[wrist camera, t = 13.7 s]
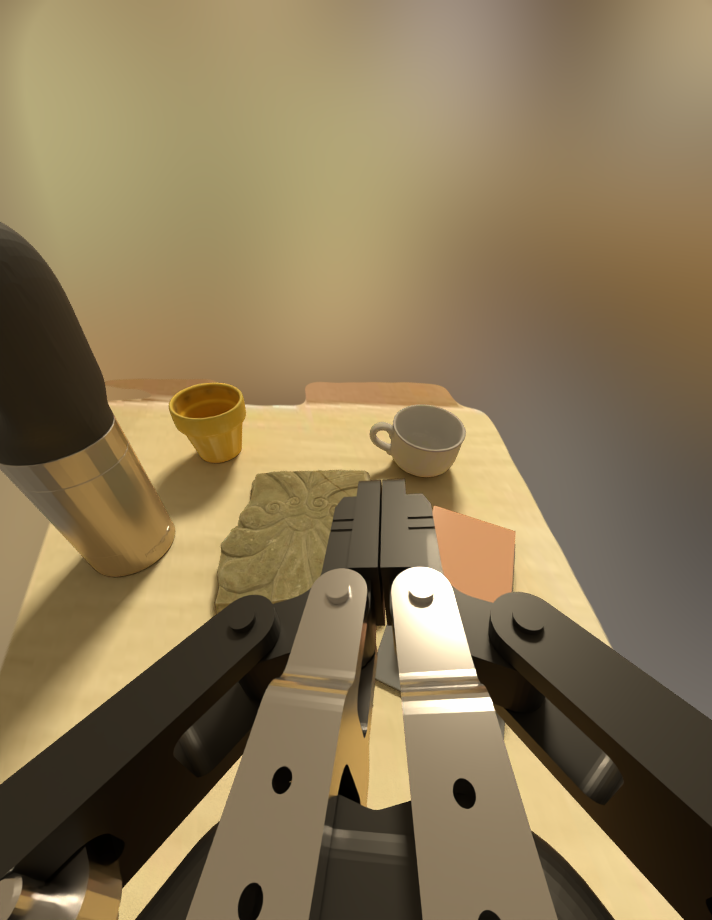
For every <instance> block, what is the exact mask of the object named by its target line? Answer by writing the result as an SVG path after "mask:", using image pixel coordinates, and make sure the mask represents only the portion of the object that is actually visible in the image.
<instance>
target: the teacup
mask: <svg viewBox="0 0 712 920" xmlns="http://www.w3.org/2000/svg"><path fill="white" fill-rule="evenodd" d="M381 430H384V431H387V432H388V433H389V437H390V439H391V444H388V443H385V442H383V441H381V440H380V439H379V438H378V437H377V436H376V433H377V432H378V431H381ZM465 435H466V431H465V427H464V425H463V423H462V422H461V421H460V419H459V418H458V417H457V416H455V415H454V414H452V413H451V412H449V411H447V410H445V409H443V408H440V407H436V406H432V405H412V406H408V407H406V408H403V409H402V410H400V411H399V412H398V413H397V414H396V415H395V417H394V420H393V426H392V425H391V424H389V423H386V422H379V423H376V424H374V425H373V426H372V428H371V430H370V439H371V441H372V442H373V444H374V445H376V446H377V447H379V448H380V449H382V450H384V451H386V452H387V454H389V455H392V457H393V459H394V461H395V462H396V464H397V465H398V466H399V467H400V468H401V469H403V470H404V471H406V472H408V473H410V474H412V475H415V476H419V477H433V476H438V475H440V474H442V473H444V472H446V471H447V470H448V469H449V468H450V467H451V466H452V465H453V463H454V461H455V459H456V457H457V455H458V452H459V450H460V447H461V444H462V442H463V441H464V439H465Z"/></svg>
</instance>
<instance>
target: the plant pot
mask: <svg viewBox="0 0 712 920" xmlns="http://www.w3.org/2000/svg"><path fill="white" fill-rule="evenodd" d="M169 411H170V414H171V416H172V419H173V421H174V424H175V426H176V428H177V429H178V430H179V431H180V432H181V433H183V434H185V435H186V436H187V437H188V439H189V440H190V442H191V443H192V445H193V446H194V448H195V449H196V451H197V452H198V454H199V455H200V457H201V458H202V459H204V460H205V461H207V462H212V463H220V462H225V461H228V460H231V459H233V458H234V457H236V456H237V455H238V454H239V453H240V451H241V449H242V422H243V421H244V419H245V416H246V410H245V404H244V399H243V395H242V393H241V391H240V390H239V389H238V388H236V387H234V386H232V385H229V384H224V383H204V384H198V385H194V386H191V387H188V388H186V389H184V390H182V391H180V392H178V393H177V394H175V395H174V396H173V397H172V399H171V400H170V402H169Z"/></svg>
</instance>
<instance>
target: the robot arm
mask: <svg viewBox="0 0 712 920" xmlns="http://www.w3.org/2000/svg"><path fill="white" fill-rule="evenodd" d="M0 470H1V471H2V472H3V473H4V474H5V475H6V476H7V477H8V478H9V479H10V480H11V481H12V482H13V483H14V484H15V485H16V486H17V487H18V488H19V489H20V491H21V492H22V493H23V494H24V495H25V496H26V497H27V498H28V499H29V500H30V501H31V502H32V503H33V504H34V505H35V506H36V507H37V509H39V511H40V512H41V513H42V514H43V515H44V516H45V517H46V518H47V519H48V520H49V521H50V522H51V523H52V524H53V525H54V526H55V528H56V529H57V530H58V531H59V532H60V533H61V534H62V535H63V536H64V537H65V538H66V539H67V540H68V541H69V542H70V543H71V544H72V546H73V547H74V548H75V549H76V550H77V551H78V552H79V553H80V554H81V555H82V556H83V557H84V558H85V559H86V561H87V562H88V563H89V564H90V565H91V566H92V567H93V568H94V569H95V570H96V571H97V572H99V573H100V574H102V575H106V576H112V577H119V576H126V575H130V574H133V573H137V572H139V571H141V570H143V569H145V568H147V567H149V566H150V565H152V564H153V563H155V562H156V561H157V560H159V559H160V558H161V557H162V556H163V555H164V554H165V553H166V552H167V550H168V549H169V547H170V546H171V544H172V542H173V539H174V537H175V527H174V524H173V522H172V520H171V519H170V517H169V515H168V513H167V511H166V509H165V507H164V506H163V503H162V502H161V500H160V498H159V496H158V494H157V492H156V491H155V489H154V487H153V485H152V483H151V481H150V480H149V478H148V476H147V474H146V472H145V470H144V469H143V467H142V465H141V463H140V461H139V459H138V458H137V456H136V454H135V452H134V450H133V448H132V447H131V445H130V443H129V441H128V439H127V438H126V436H125V434H124V432H123V430H122V429H121V427H120V425H119V423H118V421H117V420H116V418H115V416H114V414H113V412H112V410H111V409H110V407H109V405H108V402H107V395H106V388H105V382H104V379H103V375H102V373H101V370H100V368H99V366H98V364H97V361H96V359H95V357H94V355H93V353H92V351H91V348H90V346H89V344H88V342H87V339H86V337H85V335H84V333H83V331H82V328H81V326H80V324H79V322H78V319H77V317H76V315H75V313H74V310H73V308H72V306H71V304H70V302H69V300H68V298H67V296H66V294H65V292H64V290H63V288H62V286H61V285H60V283H59V281H58V279H57V278H56V276H55V275H54V273H53V271H52V270H51V268H50V267H49V266H48V264H47V263H46V262H45V260H44V259H43V258H42V257H41V255H40V254H39V253H38V252H37V251H36V250H35V248H34V247H33V246H32V245H31V244H29V243H28V242H27V241H26V240H25V239H24V238H23V237H22V236H21V235H19V234H18V233H17V232H15V231H14V230H13V229H11V228H10V227H8V226H7V225H5V224H3V223H1V222H0ZM385 610H386V618H387V626H392V631H393V640H394V649H395V653H396V655H397V658H398V668H399V678H400V689H401V700H402V711H403V721H404V731H405V742H406V752H407V762H408V773H409V783H410V793H411V801H408V802H405V803H402V804H398V805H395V806H392V807H388V808H385V809H381V810H372V809H369V808H367V797H368V785H369V740H370V729H371V718H372V708H373V698H374V688H375V678H376V667H377V655H378V653H377V647H376V625H377V626H385ZM495 712H496V713H497V714H498V715H499V716H500V717H501V718H502V719H503V721H504V722H505V723H506V724H507V725H508V726H509V727H510V728H511V729H512V730H513V732H514V733H515V734H516V735H517V736H518V737H519V738H520V739H521V740H522V741H523V743H524V744H525V745H526V746H527V747H528V748H529V749H530V750H531V751H532V753H533V754H534V755H535V756H536V757H537V758H538V759H539V760H540V761H541V762H542V764H543V765H544V766H545V767H546V768H547V769H548V770H549V771H550V772H551V773H552V775H553V776H554V777H555V778H556V779H557V780H558V781H559V782H560V783H561V784H562V786H563V787H564V788H565V789H566V790H567V791H568V792H569V793H570V794H571V795H572V797H573V798H574V799H575V800H576V801H577V802H578V803H579V804H580V805H581V807H582V808H583V809H584V810H585V811H586V812H587V813H588V814H589V815H590V816H591V818H592V819H593V820H594V821H595V822H596V823H597V824H598V825H599V826H600V827H601V829H602V830H603V831H604V832H605V833H606V834H607V835H608V836H609V837H610V838H611V840H612V841H613V842H614V843H615V844H616V845H617V846H618V847H619V848H620V850H621V851H622V852H623V853H624V854H625V855H626V856H627V857H628V858H629V859H630V861H631V862H632V863H633V864H634V865H635V866H636V867H637V868H638V869H639V870H640V872H641V873H642V874H643V875H644V876H645V877H646V878H647V879H648V880H649V881H650V883H651V884H652V885H653V886H654V887H655V888H656V889H657V890H658V891H659V893H660V894H661V895H662V896H663V897H664V898H665V899H666V900H667V901H668V902H669V904H670V905H671V906H672V907H673V908H674V909H675V910H676V911H677V912H678V913H679V915H680V916H681V917H682V918H683V919H684V920H712V720H711V719H709V718H708V717H706V716H705V715H704V714H702V713H701V712H700V711H698V710H697V709H695V708H694V707H693V706H691V705H690V704H688V703H687V702H686V701H684V700H683V699H681V698H680V697H679V696H677V695H676V694H674V693H673V692H672V691H670V690H669V689H667V688H666V687H665V686H663V685H662V684H660V683H659V682H657V681H656V680H655V679H654V678H652V677H651V676H649V675H648V674H646V673H645V672H644V671H642V670H641V669H639V668H638V667H637V666H635V665H634V664H633V663H631V662H629V661H628V660H627V659H626V658H624V657H623V656H621V655H620V654H619V653H617V652H616V651H614V650H613V649H612V648H610V647H609V646H607V645H606V644H605V643H603V642H602V641H600V640H599V639H598V638H596V637H595V636H593V635H592V634H591V633H589V632H588V631H586V630H585V629H584V628H582V627H581V626H579V625H578V624H577V623H575V622H574V621H572V620H571V619H570V618H568V617H567V616H565V615H564V614H563V613H561V612H560V611H558V610H557V609H556V608H554V607H553V606H551V605H550V604H549V603H547V602H546V601H544V600H543V599H541V598H539V597H537V596H534V595H531V594H528V593H523V592H510V593H506V594H503V595H501V596H500V597H498V598H497V599H496V600H495V601H494V603H492V602H489V601H485V600H482V599H478V598H475V597H471V596H469V595H466V594H464V593H462V592H460V591H459V590H457V589H456V588H455V587H453V586H452V585H451V584H450V583H449V582H448V580H447V579H446V577H445V575H444V573H443V570H442V565H441V559H440V553H439V547H438V542H437V536H436V530H435V524H434V519H433V513H432V507H431V503H430V502H429V501H428V500H427V498H426V497H425V496H424V495H423V494H422V493H421V494H406V489H405V479H388V480H382V483H381V480H367V481H359V482H358V489H357V496H353V497H343V498H342V500H341V501H340V502H339V503H338V505H337V506H336V507H335V511H334V515H333V522H332V525H331V532H330V534H329V539H328V544H327V549H326V554H325V558H324V563H323V568H322V572H321V575H320V577H319V578H318V579H317V580H316V581H315V582H314V584H313V585H312V587H311V588H310V589H309V590H308V591H306V592H305V593H303V594H301V595H299V596H297V597H294V598H291V599H288V600H284V601H281V602H278V603H275V604H272V602H271V601H270V600H269V599H268V598H266V597H264V596H261V595H248V596H244V597H241V598H239V599H237V600H235V601H233V602H232V603H230V604H229V605H228V606H227V607H225V608H224V609H223V610H221V611H220V612H219V613H218V614H216V615H215V616H214V617H213V618H211V619H210V620H209V621H207V622H206V623H205V624H204V625H202V626H201V627H200V628H199V629H197V630H196V631H195V632H194V633H192V634H191V635H190V636H188V637H187V638H186V639H185V640H183V641H182V642H181V643H180V644H178V645H177V646H176V647H174V648H173V649H172V650H171V651H169V652H168V653H167V654H166V655H164V656H163V657H162V658H160V659H159V660H158V661H157V662H155V663H154V664H153V665H152V666H150V667H149V668H148V669H147V670H145V671H144V672H143V673H141V674H140V675H139V676H138V677H136V678H135V679H134V680H133V681H131V682H130V683H129V684H127V685H126V686H125V687H124V688H122V689H121V690H120V691H119V692H117V693H116V694H115V695H114V696H112V697H111V698H110V699H108V700H107V701H106V702H105V703H103V704H102V705H101V706H100V707H98V708H97V709H96V710H94V711H93V712H92V713H91V714H89V715H88V716H87V717H86V718H84V719H83V720H82V721H80V722H79V723H78V724H77V725H75V726H74V727H73V728H72V729H70V730H69V731H68V732H67V733H65V734H64V735H63V736H61V737H60V738H59V739H58V740H56V741H55V742H54V743H53V744H51V745H50V746H49V747H47V748H46V749H45V750H44V751H42V752H41V753H40V754H39V755H37V756H36V757H35V758H33V759H32V760H31V761H30V762H28V763H27V764H26V765H25V766H23V767H22V768H21V769H20V770H18V771H17V772H16V773H14V774H13V775H12V776H11V777H9V778H8V779H7V780H6V781H4V782H3V783H2V784H0V920H118V917H119V911H118V910H119V906H120V901H121V894H122V888H123V887H124V886H125V885H126V884H127V883H128V882H129V880H130V879H131V878H132V877H133V876H134V875H135V874H136V873H137V872H138V870H139V869H140V868H141V867H142V866H143V865H144V864H145V863H146V861H147V860H148V859H149V858H150V857H151V856H152V855H153V854H154V853H155V851H156V850H157V849H158V848H159V847H160V846H161V845H162V844H163V843H164V841H165V840H166V839H167V838H168V837H169V836H170V835H171V834H172V833H173V831H174V830H175V829H176V828H177V827H178V826H179V825H180V824H181V823H182V821H183V820H184V819H185V818H186V817H187V816H188V815H189V814H190V812H191V811H192V810H193V809H194V808H195V807H196V806H197V805H198V804H199V802H200V801H201V800H202V799H203V798H204V797H205V796H206V795H207V794H208V792H209V791H210V790H211V789H212V788H213V787H214V786H215V785H216V784H217V782H218V781H219V780H220V779H221V778H222V777H223V776H224V775H225V773H226V772H227V771H228V770H229V769H230V768H231V767H232V766H233V765H234V763H235V762H236V761H237V760H238V759H239V758H240V757H241V756H242V755H243V756H242V759H241V762H240V765H239V767H238V770H237V773H236V776H235V779H234V782H233V785H232V788H231V791H230V793H229V796H228V799H227V802H226V805H225V808H224V811H223V814H222V816H221V819H220V821H219V822H218V823H217V824H216V825H214V826H213V827H212V828H211V829H210V830H209V831H208V832H207V833H206V834H205V835H204V836H203V837H202V838H201V839H200V840H199V841H198V842H197V844H196V845H195V846H194V847H193V848H192V850H191V851H190V852H189V853H188V854H187V856H186V857H185V858H184V859H183V861H182V862H181V863H180V864H179V866H178V867H177V868H176V869H175V871H174V872H173V873H172V874H171V876H170V877H169V878H168V879H167V881H166V882H165V883H164V884H163V885H162V887H161V888H160V889H159V890H158V892H157V893H156V894H155V895H154V897H153V898H152V899H151V900H150V902H149V903H148V904H147V905H146V907H145V908H144V909H143V910H142V912H141V913H140V914H139V915H138V917H137V918H136V919H135V920H615V919H614V918H613V917H612V915H611V914H610V913H609V911H608V910H607V909H606V907H605V906H604V905H603V904H602V902H601V901H600V900H599V898H598V897H597V896H596V894H595V893H594V892H593V891H592V889H591V888H590V887H589V886H588V884H587V883H586V882H585V881H584V879H583V878H582V877H581V876H580V875H579V874H578V873H577V872H576V871H575V869H574V868H573V867H572V866H571V865H570V864H569V863H568V862H567V861H566V860H565V859H564V858H563V857H562V856H561V855H560V854H559V853H558V852H557V851H556V850H555V849H554V848H553V847H551V846H550V845H549V844H548V843H547V842H546V841H544V840H543V839H542V838H540V837H539V836H538V835H537V834H535V833H534V832H533V831H531V829H530V826H529V823H528V819H527V816H526V813H525V809H524V806H523V803H522V799H521V796H520V793H519V789H518V786H517V783H516V779H515V776H514V773H513V770H512V766H511V763H510V760H509V756H508V753H507V750H506V746H505V743H504V740H503V736H502V733H501V730H500V726H499V723H498V720H497V716H496V713H495Z"/></svg>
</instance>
